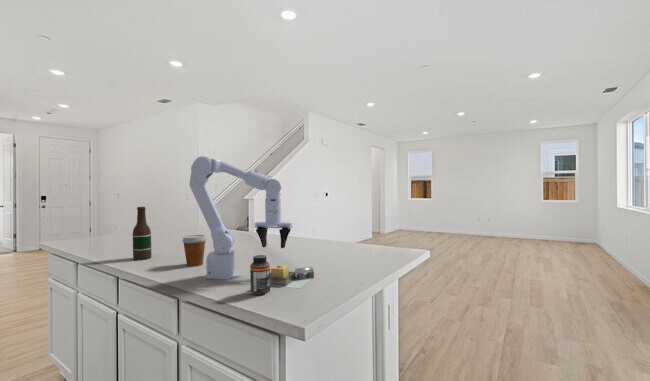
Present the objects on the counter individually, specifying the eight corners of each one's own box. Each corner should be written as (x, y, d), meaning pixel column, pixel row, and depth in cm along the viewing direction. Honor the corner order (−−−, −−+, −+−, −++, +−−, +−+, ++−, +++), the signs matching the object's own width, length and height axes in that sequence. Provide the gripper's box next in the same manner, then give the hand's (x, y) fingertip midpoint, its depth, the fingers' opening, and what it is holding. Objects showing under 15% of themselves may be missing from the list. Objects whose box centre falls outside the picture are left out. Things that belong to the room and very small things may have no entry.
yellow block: (276, 279, 113) (276, 264, 113) (288, 280, 112) (288, 264, 112) (271, 283, 109) (270, 267, 109) (283, 284, 108) (283, 268, 108)
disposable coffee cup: (180, 264, 139) (179, 236, 139) (202, 260, 145) (202, 233, 145) (186, 268, 131) (185, 238, 131) (210, 264, 137) (209, 236, 137)
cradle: (263, 285, 108) (263, 276, 108) (274, 278, 116) (274, 270, 116) (286, 287, 106) (286, 278, 106) (295, 280, 113) (295, 271, 113)
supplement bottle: (252, 289, 104) (251, 254, 103) (270, 289, 104) (270, 253, 104) (249, 296, 98) (248, 258, 97) (269, 295, 98) (268, 257, 98)
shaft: (298, 281, 112) (298, 270, 112) (294, 278, 115) (294, 267, 115) (314, 278, 115) (314, 267, 115) (309, 276, 118) (309, 265, 118)
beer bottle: (155, 257, 152) (154, 206, 152) (138, 261, 146) (137, 207, 145) (146, 256, 156) (145, 206, 156) (129, 259, 150) (128, 207, 149)
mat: (238, 284, 110) (238, 283, 110) (260, 271, 125) (260, 270, 125) (299, 289, 103) (299, 288, 103) (315, 275, 119) (315, 274, 119)
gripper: (250, 211, 120) (250, 248, 120) (286, 212, 116) (287, 250, 116) (259, 210, 127) (260, 245, 127) (294, 210, 123) (294, 246, 123)
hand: (273, 247), depth 122 cm, fingers open, 7 cm apart
